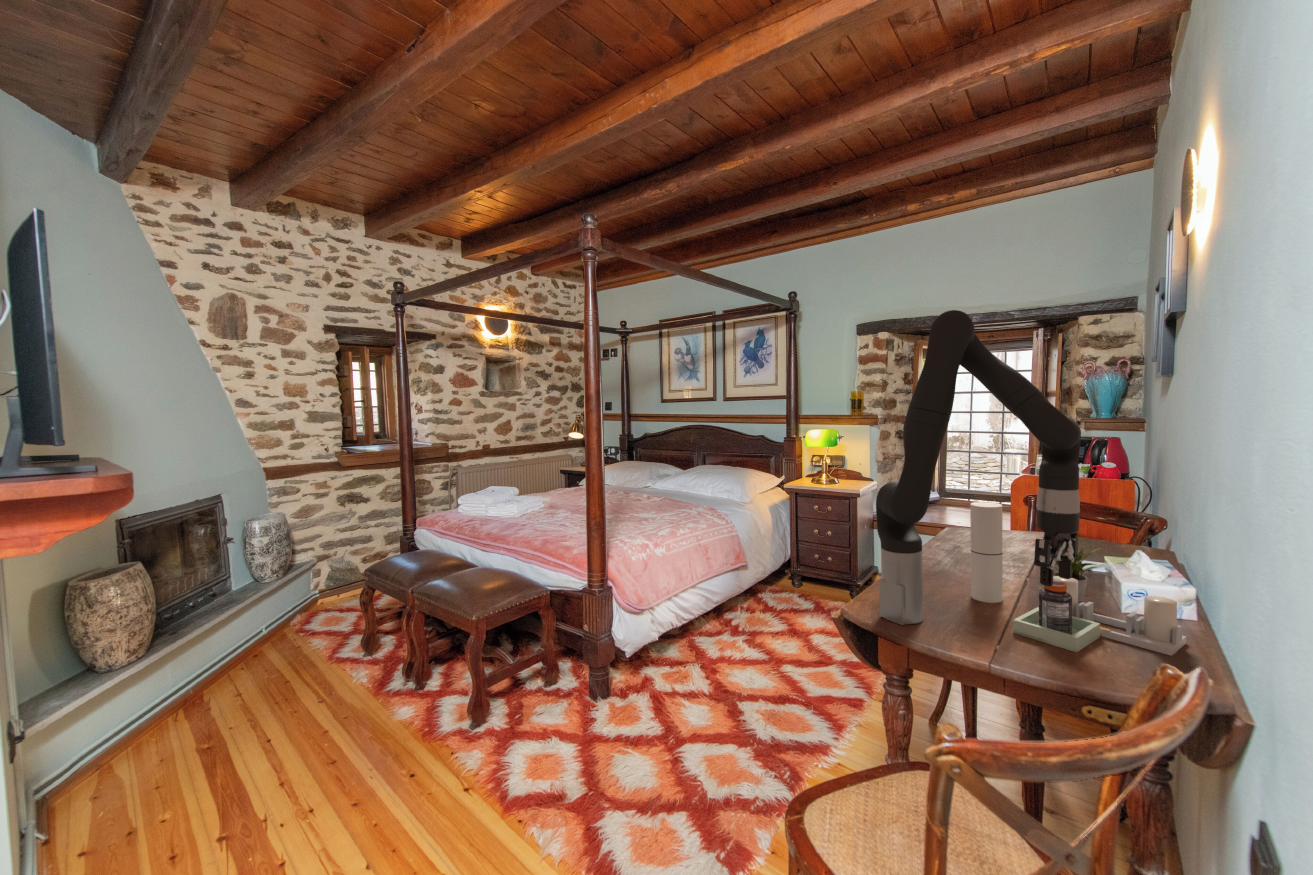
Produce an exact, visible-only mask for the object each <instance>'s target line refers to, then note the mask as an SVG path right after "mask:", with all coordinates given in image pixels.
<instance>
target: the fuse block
mask: <svg viewBox="0 0 1313 875" xmlns="http://www.w3.org/2000/svg"><path fill="white" fill-rule="evenodd" d="M1053 580H1055V581H1060V582H1064V583H1065V584H1066V585H1067V590H1066V592H1067V593H1069V594H1070V595H1071V597H1072V616H1074V617H1078V618H1082V619H1085V620H1089V621H1093V622H1097V623H1100V624H1105V625H1109V626H1113V627H1116V628H1120V629H1125V630H1126V632H1125V634H1124V633H1120V632H1117V631H1113V630H1112V629H1109V628H1105V627H1102V626H1100V637H1103V638H1106V639H1110V640H1114V641H1118V642H1119V643H1124V644H1128V645H1132V646H1134V647H1139V648H1142V649H1146V650H1149V651H1153V652H1157V653H1159V654H1163V655H1164V654H1165V655H1167V656H1174V655H1175V654H1176V653H1177V652H1178V651H1179V650H1181V649H1182V648H1183V647H1184V646H1185V645H1186V644H1187V636H1186V635H1183V625H1180V624H1178V621H1177V620H1178V618H1177V616H1178V602H1177V601H1176V600H1174V599H1172V598H1169V597H1164V596H1156V595H1146V596H1144V597H1143V615H1141V616H1139V617H1138V612H1136V611H1132V612H1130V613H1128V614H1127V615H1126V616H1125V618H1126V619H1125V620H1123V619H1118V618H1113V617H1111V616H1106V615H1102V614H1097V613H1095V612H1094V609H1095V608H1094V607H1095V606H1094V604H1095V603H1094V602H1092V601H1088V602H1084V601H1083V602H1082V603H1078V580H1076V579H1074V578H1070V579H1064V578H1060V577H1059V576H1054V577H1053Z"/></svg>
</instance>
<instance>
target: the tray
mask: <svg viewBox="0 0 1313 875" xmlns="http://www.w3.org/2000/svg"><path fill="white" fill-rule="evenodd" d="M1100 627H1101V622H1097V621H1089V620H1085V619H1082V618H1078V617H1074V616H1072V635H1070V634H1067V633H1063V632H1060V631H1056V630H1053V629H1049V628H1046V627H1042V626H1039V606H1037V607H1035V608H1033V609H1032V610H1030V611H1027V612H1025V613H1023V614H1022V615H1020V616H1017V617H1016V618H1014V619H1013V620H1012V633H1013V634H1016V635H1019V636H1022V637H1025V638H1029V639H1032V640H1035V641H1039V642H1041V643H1046V644H1049V645H1050V646H1051V645H1052V646H1054V647H1057V648H1061V649H1064V650H1068V651H1071V652H1073V653H1078V652H1080V651H1081V650H1083V649H1084V648H1086V647H1087V646H1089V645H1090V644H1092V643H1093V642H1094V641H1096V640H1098V639H1100V637H1101V636H1100Z"/></svg>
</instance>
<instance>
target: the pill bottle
mask: <svg viewBox="0 0 1313 875" xmlns="http://www.w3.org/2000/svg"><path fill="white" fill-rule="evenodd" d="M1066 590H1067V585H1066V584H1065V583H1064V582H1060V581H1055V580H1053V585H1052V586H1045V585H1043V589H1041V590H1040V591H1039V593H1038V607H1039V626H1042V627H1046V628H1049V629H1053V630H1056V631H1060V632H1063V633H1067V634H1070V635H1072V597H1071V595H1070V594H1069V593H1067V592H1066Z"/></svg>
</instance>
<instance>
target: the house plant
mask: <svg viewBox="0 0 1313 875" xmlns="http://www.w3.org/2000/svg"><path fill="white" fill-rule="evenodd" d="M1043 537H1044V536H1041V539H1043ZM1085 547H1086V544H1083V546H1082V548H1080V550H1079V551H1078V552H1079V553H1078V557H1077V558H1074V561H1073V562H1071V563H1072V575H1071V578H1074V579H1076V580H1078V604H1080V603H1082V602H1084V596H1085V592H1086V588H1087V584H1088V577H1087V576H1085V575H1083V574H1084V573H1085V572H1086V571H1088V570H1090V569H1098V567H1096V566H1097V563H1089V562H1086V563H1085V562H1084V563H1083V561H1084V560H1086V558H1088V557H1089V556H1091V555H1093V553H1094V552H1096V551H1098V550H1101V549H1103V547H1098V548H1095V549H1092V550H1091V551H1090V552H1087V551H1084V550H1085ZM1086 553H1087V554H1086ZM1059 561H1060V560H1059ZM1059 561H1056V562H1055V565H1054V566H1058V567H1059ZM1093 565H1094V566H1093ZM1087 566H1090V567H1088V568H1086V569H1084V568H1085V567H1087ZM1055 569H1056V570H1057V571H1056V572H1053V577H1054V576H1059V568H1057V567H1055Z"/></svg>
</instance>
